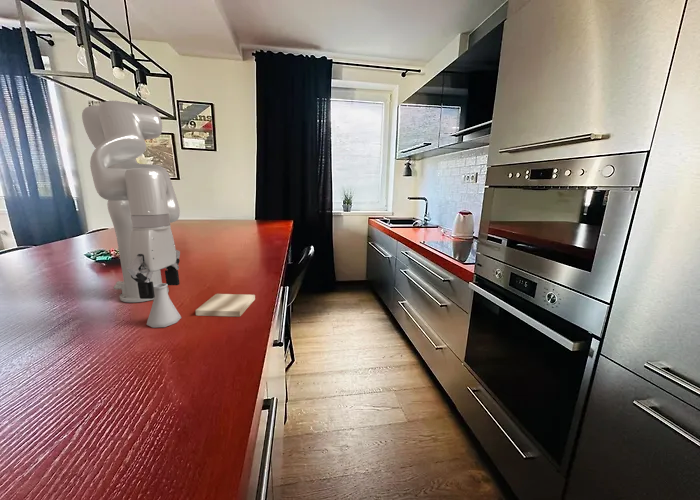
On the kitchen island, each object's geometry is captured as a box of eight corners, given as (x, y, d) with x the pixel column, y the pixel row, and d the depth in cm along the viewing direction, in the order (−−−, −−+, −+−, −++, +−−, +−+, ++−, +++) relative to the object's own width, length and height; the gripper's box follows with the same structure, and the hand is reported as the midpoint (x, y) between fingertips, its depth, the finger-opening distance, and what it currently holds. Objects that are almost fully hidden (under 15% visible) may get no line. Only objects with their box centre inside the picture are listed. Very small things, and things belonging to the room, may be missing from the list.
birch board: (195, 315, 79) (195, 310, 79) (216, 298, 91) (216, 293, 90) (240, 316, 79) (239, 311, 79) (255, 299, 91) (254, 294, 90)
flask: (165, 330, 71) (160, 291, 69) (140, 326, 73) (134, 288, 70) (187, 317, 78) (183, 281, 76) (163, 314, 79) (159, 279, 77)
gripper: (159, 219, 78) (168, 280, 81) (105, 226, 61) (118, 304, 64) (187, 218, 78) (194, 280, 81) (140, 226, 61) (152, 304, 64)
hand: (161, 291), depth 73 cm, fingers open, 9 cm apart
